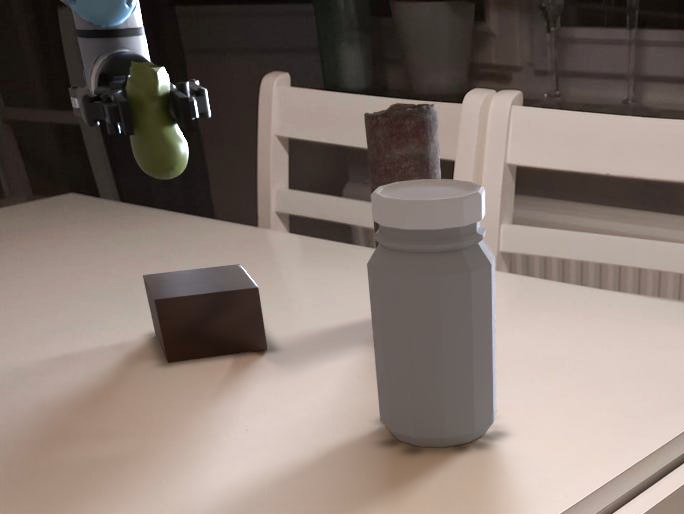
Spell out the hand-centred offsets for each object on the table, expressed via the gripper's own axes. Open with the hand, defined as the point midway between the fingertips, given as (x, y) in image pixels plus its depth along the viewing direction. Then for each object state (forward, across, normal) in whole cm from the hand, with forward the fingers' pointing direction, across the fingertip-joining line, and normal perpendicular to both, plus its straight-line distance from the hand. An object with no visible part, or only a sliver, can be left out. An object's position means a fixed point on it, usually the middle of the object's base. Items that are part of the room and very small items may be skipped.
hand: (157, 116), depth 94 cm
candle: (+4, -23, -20) cm, 31 cm away
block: (+3, -1, -20) cm, 20 cm away
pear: (-5, 0, -6) cm, 8 cm away
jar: (+35, -14, -20) cm, 43 cm away
